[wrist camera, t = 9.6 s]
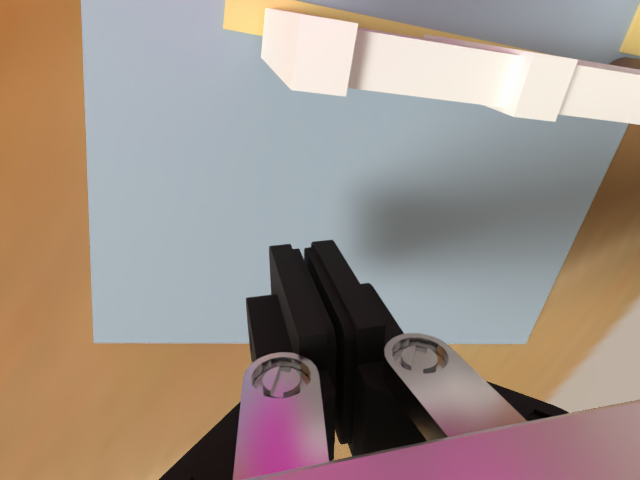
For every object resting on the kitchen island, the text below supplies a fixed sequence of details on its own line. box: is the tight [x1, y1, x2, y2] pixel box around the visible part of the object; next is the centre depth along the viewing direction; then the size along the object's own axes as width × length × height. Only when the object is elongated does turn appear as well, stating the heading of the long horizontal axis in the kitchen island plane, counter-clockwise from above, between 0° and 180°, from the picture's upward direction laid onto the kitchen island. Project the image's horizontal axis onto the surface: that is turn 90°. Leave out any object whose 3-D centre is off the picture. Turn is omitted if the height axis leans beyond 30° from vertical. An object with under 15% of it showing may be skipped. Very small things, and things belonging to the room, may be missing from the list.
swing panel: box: [261, 8, 640, 125], centre depth 11 cm, size 10×1×5 cm, turn 81°
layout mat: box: [81, 0, 640, 344], centre depth 15 cm, size 16×18×1 cm
